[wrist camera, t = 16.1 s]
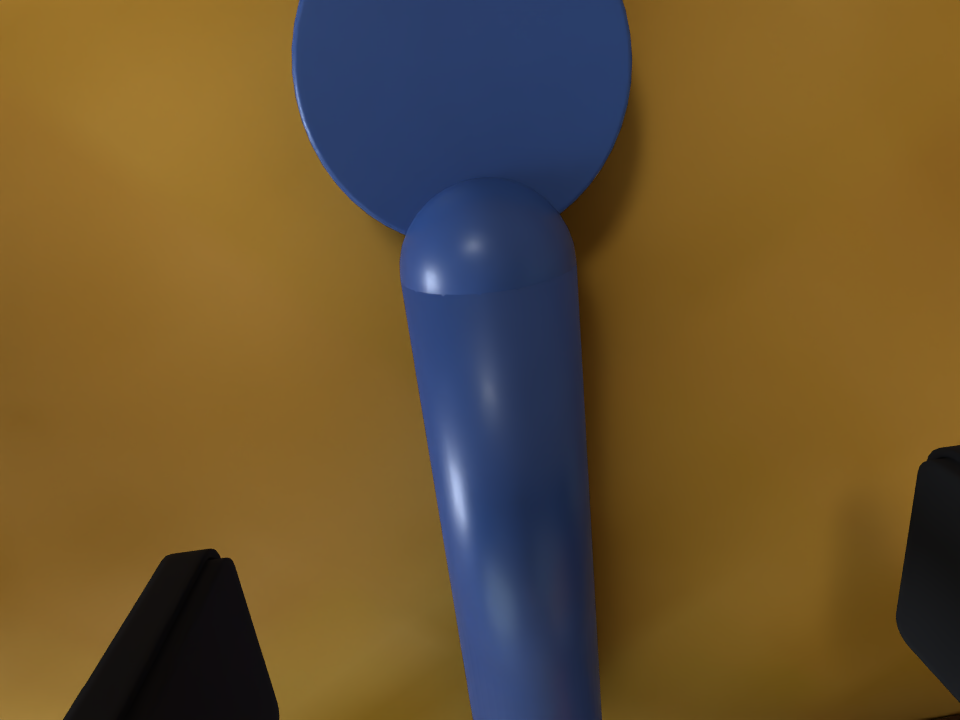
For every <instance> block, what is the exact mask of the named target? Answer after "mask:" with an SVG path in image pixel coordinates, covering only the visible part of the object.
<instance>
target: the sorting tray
mask: <svg viewBox="0 0 960 720" xmlns="http://www.w3.org/2000/svg"><path fill="white" fill-rule="evenodd" d="M933 720H960V715H955V716H950V717H944V718H938V719H933Z"/></svg>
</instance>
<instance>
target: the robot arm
mask: <svg viewBox="0 0 960 720" xmlns="http://www.w3.org/2000/svg"><path fill="white" fill-rule="evenodd" d="M896 622H897V627H898V629H899V632H900V634H901V636H902V638H903V640H904V641H905V642H906V644H907V645H908V646H909V647H910V648H911V650H912V651H913V652H914V653H915V654H916V655H917V656H918V657H919V658H920V659H921V661H922V662H923V663H924V664H925V665H926V666H927V667H928V668H929V669H930V670H931V672H932V673H933V674H934V675H935V676H936V677H937V678H938V679H939V680H940V682H941V683H942V684H943V685H944V686H945V687H946V688H947V689H948V690H949V691H950V693H951V694H952V695H953V696H954V697H955V698H956V699H957V700H958V701H959V702H960V445H957V446H950V447H943V448H938V449H936V450H933V451H932V452H931V454H930V455H929V456H928V459H927V461H925V462H923V463H922V464H921V465H920V467H919V470H918V474H917V481H916V487H915V494H914V500H913V507H912V513H911V520H910V526H909V533H908V539H907V546H906V552H905V559H904V565H903V572H902V578H901V585H900V591H899V598H898V604H897V611H896ZM63 720H279V708H278V704H277V700H276V697H275V694H274V690H273V687H272V684H271V681H270V678H269V674H268V671H267V668H266V665H265V661H264V658H263V655H262V652H261V649H260V645H259V642H258V639H257V636H256V632H255V629H254V626H253V623H252V620H251V616H250V613H249V610H248V607H247V603H246V600H245V597H244V594H243V591H242V587H241V584H240V581H239V578H238V574H237V571H236V568H235V565H234V563H233V561H232V560H231V559H230V558H220V555H219V554H218V553H217V551H216V550H214V549H204V550H197V551H189V552H182V553H175V554H170V555H167V556H166V557H165V558H164V559H163V560H162V561H161V563H160V564H159V566H158V568H157V569H156V571H155V572H154V574H153V576H152V577H151V579H150V581H149V582H148V584H147V585H146V587H145V589H144V590H143V592H142V593H141V595H140V597H139V598H138V600H137V602H136V603H135V605H134V606H133V608H132V610H131V611H130V613H129V615H128V616H127V618H126V619H125V621H124V623H123V624H122V626H121V627H120V629H119V631H118V632H117V634H116V636H115V637H114V639H113V640H112V642H111V644H110V645H109V647H108V649H107V650H106V652H105V653H104V655H103V657H102V658H101V660H100V662H99V663H98V665H97V666H96V668H95V670H94V671H93V673H92V674H91V676H90V678H89V679H88V681H87V683H86V684H85V686H84V687H83V688H82V690H81V691H80V693H79V695H78V696H77V698H76V699H75V701H74V703H73V704H72V706H71V708H70V709H69V711H68V712H67V714H66V716H65V717H64V719H63Z"/></svg>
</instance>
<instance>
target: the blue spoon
mask: <svg viewBox="0 0 960 720" xmlns="http://www.w3.org/2000/svg"><path fill="white" fill-rule="evenodd" d="M631 73H632V51H631V38H630V30H629V25H628V20H627V15H626V10H625V7H624V4H623V1H622V0H300V1H299V5H298V10H297V14H296V18H295V23H294V32H293V42H292V75H293V82H294V89H295V96H296V101H297V104H298V108H299V112H300V115H301V119H302V123H303V125H304V128H305V130H306V133H307V135H308V137H309V140H310V142H311V145H312V147H313V148H314V150H315V152H316V154H317V156H318V157H319V159H320V161H321V163H322V165H323V166H324V168H325V169H326V170H327V172H328V173H329V175H330V176H331V177H332V179H333V180H334V181H335V183H336V184H337V185H338V186H339V187H340V188H341V190H342V191H343V192H344V193H345V194H346V195H347V196H348V197H349V198H350V199H351V200H352V201H353V202H354V203H355V204H356V205H358V206H359V207H360V208H361V209H362V210H364V211H365V212H366V213H367V214H368V215H370V216H371V217H373V218H375V219H376V220H378V221H379V222H381V223H382V224H384V225H385V226H387V227H389V228H391V229H393V230H395V231H397V232H399V233H402V234H404V235H406V236H405V239H404V242H403V244H402V250H401V257H400V277H401V285H402V291H403V297H404V303H405V309H406V315H407V321H408V327H409V333H410V339H411V346H412V352H413V358H414V364H415V370H416V376H417V382H418V388H419V394H420V400H421V406H422V412H423V419H424V425H425V431H426V437H427V443H428V449H429V455H430V461H431V467H432V473H433V479H434V485H435V491H436V498H437V504H438V510H439V516H440V522H441V528H442V534H443V540H444V546H445V552H446V558H447V564H448V570H449V577H450V583H451V589H452V595H453V601H454V607H455V613H456V619H457V625H458V631H459V637H460V643H461V650H462V656H463V662H464V668H465V674H466V680H467V686H468V692H469V698H470V704H471V710H472V716H473V720H602V712H601V694H600V676H599V658H598V640H597V622H596V604H595V586H594V568H593V550H592V532H591V514H590V496H589V478H588V460H587V442H586V424H585V406H584V388H583V370H582V352H581V334H580V316H579V298H578V280H577V262H576V255H575V248H574V243H573V240H572V238H571V235H570V232H569V230H568V227H567V225H566V224H565V222H564V221H563V219H562V217H561V216H560V214H561V213H562V212H563V211H564V210H565V209H566V208H568V207H569V206H570V205H571V204H572V203H574V202H575V201H576V200H577V199H578V197H579V196H580V195H581V194H582V193H583V192H584V191H585V190H586V189H587V188H588V187H589V185H590V184H591V183H592V181H593V180H594V178H595V177H596V176H597V174H598V173H599V171H600V170H601V169H602V167H603V165H604V164H605V162H606V160H607V158H608V156H609V154H610V153H611V151H612V149H613V147H614V144H615V142H616V139H617V137H618V134H619V132H620V130H621V127H622V123H623V120H624V116H625V112H626V109H627V105H628V99H629V93H630V86H631Z"/></svg>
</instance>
